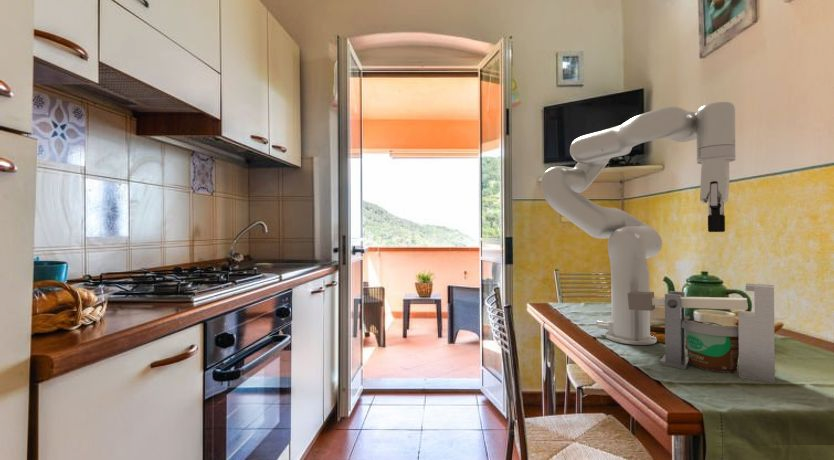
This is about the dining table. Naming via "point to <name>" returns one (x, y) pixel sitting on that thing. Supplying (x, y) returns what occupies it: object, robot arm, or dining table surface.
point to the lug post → (758, 336)
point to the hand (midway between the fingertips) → (716, 231)
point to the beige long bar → (684, 302)
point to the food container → (712, 345)
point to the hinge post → (674, 332)
